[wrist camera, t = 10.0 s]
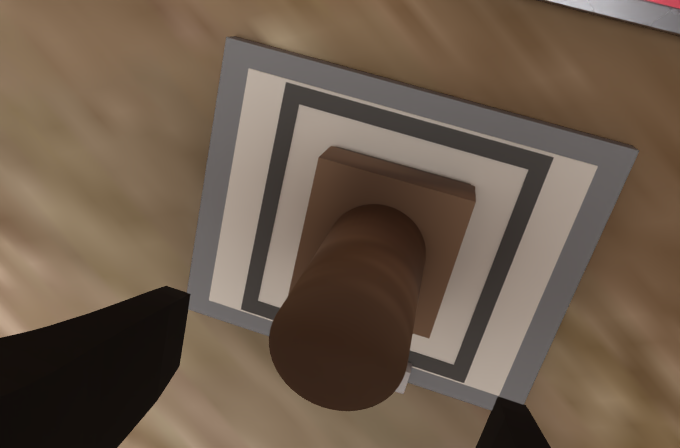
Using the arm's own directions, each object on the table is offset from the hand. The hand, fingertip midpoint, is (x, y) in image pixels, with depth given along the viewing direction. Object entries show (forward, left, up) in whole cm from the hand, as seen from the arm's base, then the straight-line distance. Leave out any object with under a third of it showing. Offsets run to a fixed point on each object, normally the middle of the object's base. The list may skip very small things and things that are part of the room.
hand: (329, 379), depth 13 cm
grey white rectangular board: (0, 0, -10) cm, 10 cm away
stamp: (0, 0, -9) cm, 9 cm away
